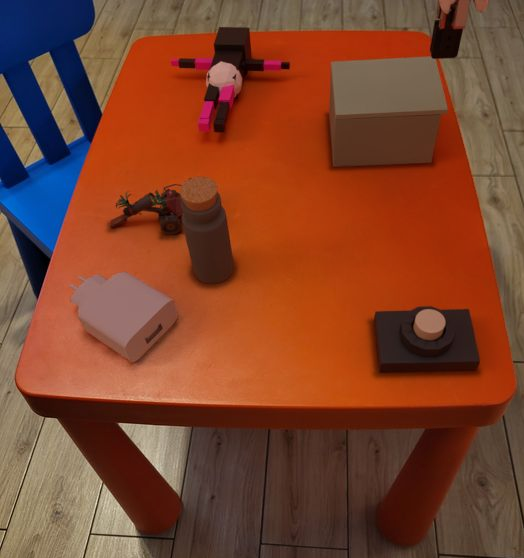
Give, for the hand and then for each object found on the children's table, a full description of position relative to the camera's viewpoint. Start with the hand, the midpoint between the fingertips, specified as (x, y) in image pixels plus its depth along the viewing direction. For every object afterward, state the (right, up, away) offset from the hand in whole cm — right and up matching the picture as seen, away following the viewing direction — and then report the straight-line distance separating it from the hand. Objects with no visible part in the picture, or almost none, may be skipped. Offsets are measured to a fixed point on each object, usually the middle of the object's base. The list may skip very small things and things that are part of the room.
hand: (443, 54), depth 76 cm
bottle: (-30, -25, +12) cm, 41 cm away
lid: (-4, +3, +18) cm, 18 cm away
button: (-2, -34, -1) cm, 35 cm away
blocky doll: (-29, +8, +33) cm, 45 cm away
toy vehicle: (-38, -17, +18) cm, 46 cm away
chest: (-3, -2, +25) cm, 25 cm away
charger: (-43, -32, +8) cm, 54 cm away
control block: (-2, -36, +2) cm, 37 cm away
